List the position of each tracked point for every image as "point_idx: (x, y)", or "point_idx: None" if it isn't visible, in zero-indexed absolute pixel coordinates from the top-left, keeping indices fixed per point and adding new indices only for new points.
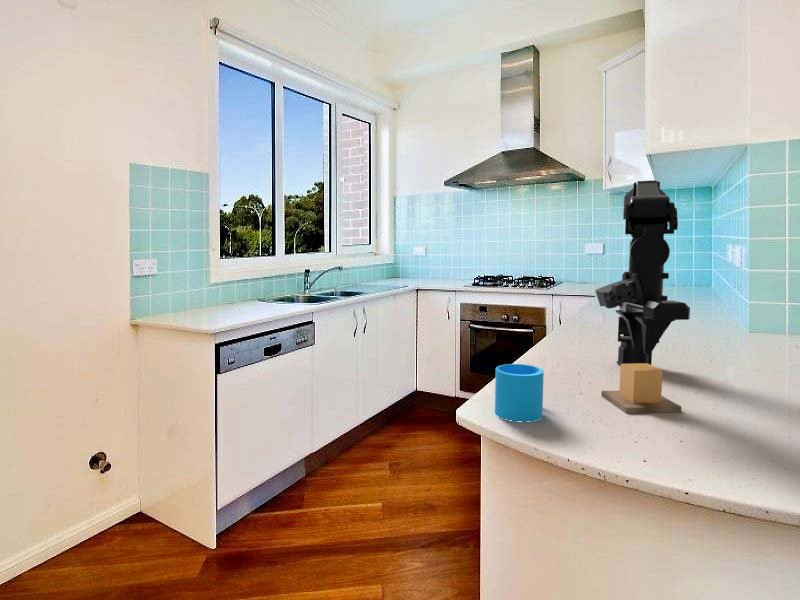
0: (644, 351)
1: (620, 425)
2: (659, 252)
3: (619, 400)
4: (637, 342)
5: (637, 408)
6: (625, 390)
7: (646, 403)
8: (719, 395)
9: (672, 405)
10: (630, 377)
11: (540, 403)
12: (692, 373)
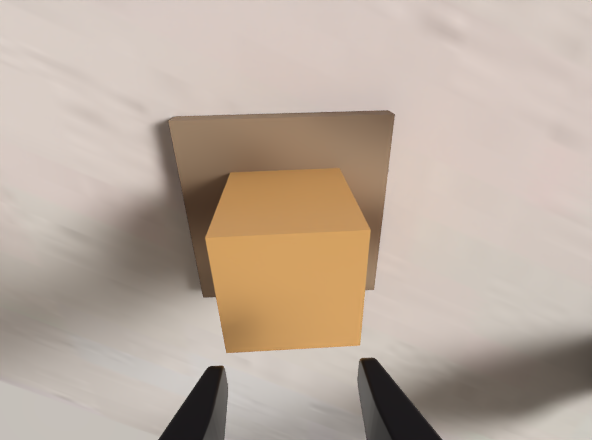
0: (213, 374)
1: (15, 26)
2: None
3: (259, 133)
4: (367, 415)
5: (179, 165)
6: (293, 181)
7: None
8: (343, 409)
9: (211, 279)
10: (252, 213)
11: None
12: (521, 431)
